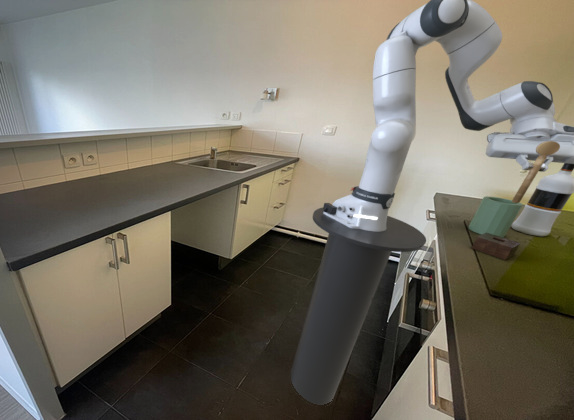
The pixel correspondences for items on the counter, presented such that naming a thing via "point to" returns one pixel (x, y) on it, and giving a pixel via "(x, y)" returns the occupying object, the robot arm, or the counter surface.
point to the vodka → (546, 203)
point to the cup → (494, 216)
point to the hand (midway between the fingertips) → (534, 169)
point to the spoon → (536, 166)
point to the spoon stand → (495, 246)
